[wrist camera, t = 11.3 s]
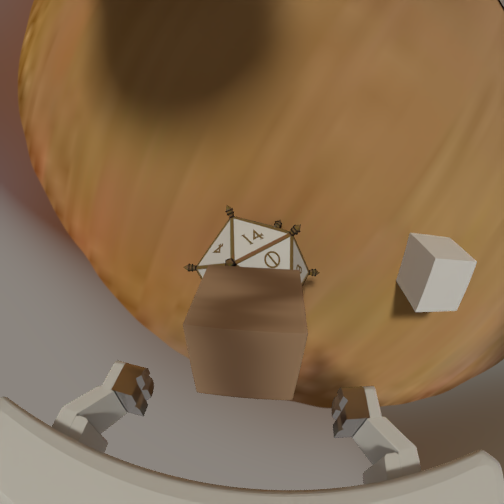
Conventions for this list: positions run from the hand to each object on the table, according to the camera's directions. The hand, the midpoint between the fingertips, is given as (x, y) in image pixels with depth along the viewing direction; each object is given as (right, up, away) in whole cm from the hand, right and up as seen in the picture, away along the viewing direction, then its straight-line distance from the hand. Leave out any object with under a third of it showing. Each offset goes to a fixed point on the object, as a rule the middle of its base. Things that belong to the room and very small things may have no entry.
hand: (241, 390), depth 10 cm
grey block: (+17, +5, +12) cm, 21 cm away
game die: (+1, +6, +13) cm, 14 cm away
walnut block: (+1, +3, +6) cm, 6 cm away
